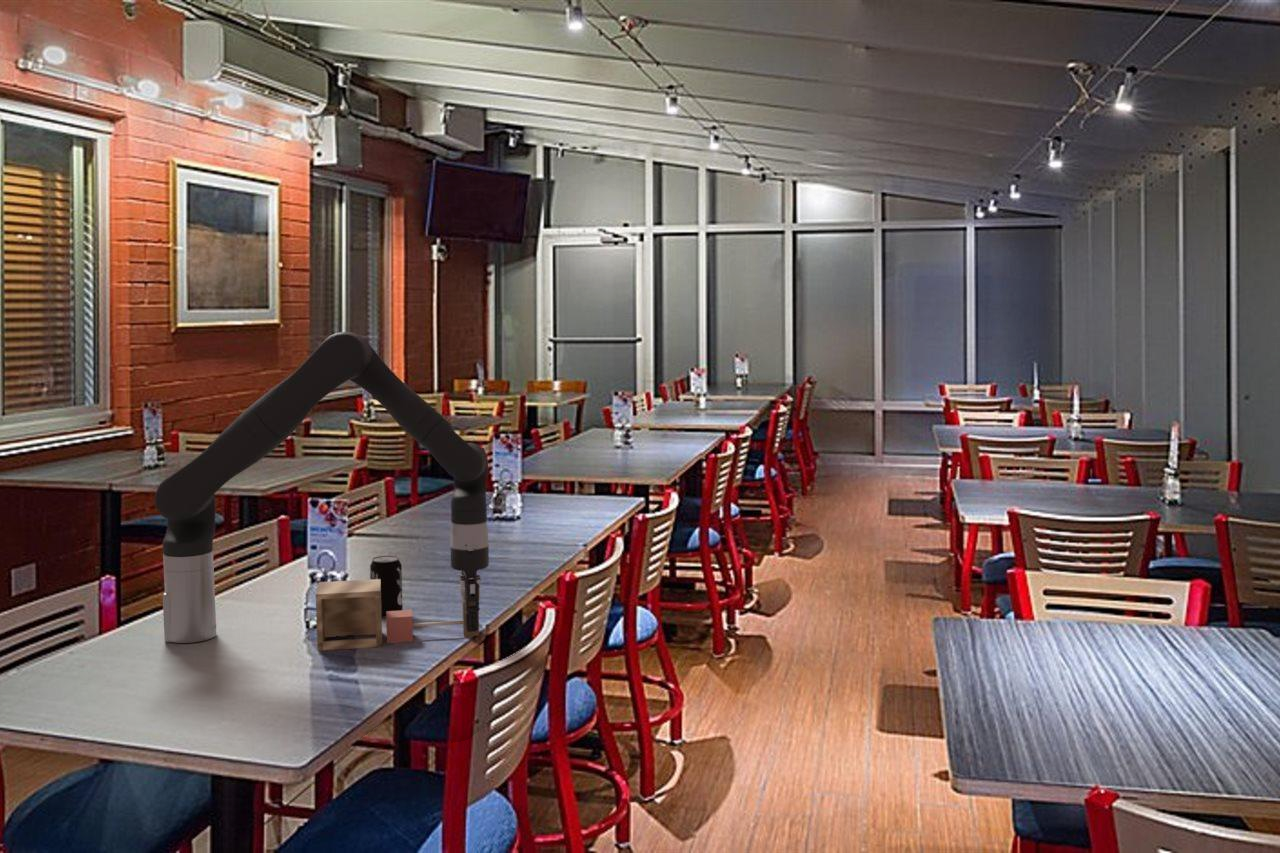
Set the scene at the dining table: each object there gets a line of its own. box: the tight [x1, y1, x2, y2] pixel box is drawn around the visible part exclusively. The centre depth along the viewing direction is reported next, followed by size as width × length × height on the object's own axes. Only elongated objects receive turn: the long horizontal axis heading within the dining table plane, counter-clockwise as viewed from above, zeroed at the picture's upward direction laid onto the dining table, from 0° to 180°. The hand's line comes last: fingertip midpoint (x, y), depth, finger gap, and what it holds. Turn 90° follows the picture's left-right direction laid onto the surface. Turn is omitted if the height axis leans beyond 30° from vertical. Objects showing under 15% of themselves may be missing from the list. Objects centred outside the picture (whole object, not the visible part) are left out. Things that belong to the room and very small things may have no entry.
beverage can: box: [369, 554, 404, 617], centre depth 249 cm, size 7×7×12 cm
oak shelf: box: [315, 579, 383, 652], centre depth 228 cm, size 12×10×11 cm
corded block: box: [385, 597, 480, 644], centre depth 231 cm, size 18×5×7 cm, turn 102°
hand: (471, 626), depth 233 cm, fingers open, 5 cm apart
